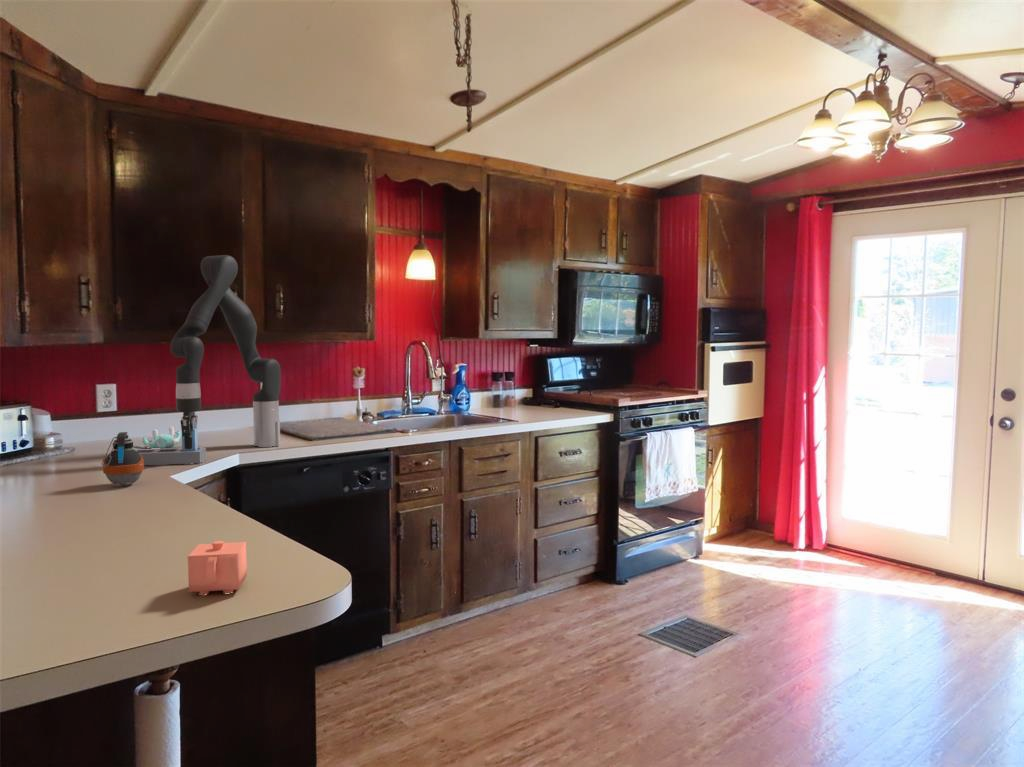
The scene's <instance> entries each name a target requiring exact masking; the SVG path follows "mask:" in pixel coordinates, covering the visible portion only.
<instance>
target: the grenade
mask: <svg viewBox="0 0 1024 767" xmlns="http://www.w3.org/2000/svg"><path fill="white" fill-rule="evenodd" d="M111 446H112V449H111V450H110V448H111ZM109 450H110V452H109ZM108 452H109V453H108ZM101 466H102V469H103V475H104V474H105V476H106V478H107V480H109V482H110V483H112V484H113V485H116V486H120V487H123V486H124V487H126V486H129V485H130V486H131V485H132V484H134V483H136V482H137V481H138V480H139V479H140V477H141V476H142V473H143V471H144V470H145V466H144V460H143V457H142V455H141V454H139V453H138V452H137V451H135V449H134V442H133V440H132V439H130V438H129V435H128V432H127V431H123V432H119V433H117V435H116V436H114V437H112V439H111V442H110V444H109V446H108V448H107V451H106V453H105V454H104V457H103V459H102V461H101Z"/></svg>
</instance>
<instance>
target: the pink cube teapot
mask: <svg viewBox="0 0 1024 767" xmlns="http://www.w3.org/2000/svg"><path fill="white" fill-rule="evenodd" d="M247 564H248V563H247V542H246V541H239V542H224V540H216V541H213V542H211V543H199V544H197V546H196V547H195V548H194V549H193V550H192V551H191V552H190V553H189V555H188V556H187V568H188V569H187V572H188V575H187V576H188V577H187V578H188V592H189V593H197V592H198V594H199V595H205V594H208V593H209V594H210V592H216V591H217V592H218V591H222V592H223V594H224V593H231V592H233V591H235V590H240V589H241V587H242V585H243V583H244V581H245V580H246V579H247V574H248V569H247ZM209 594H208V595H209Z"/></svg>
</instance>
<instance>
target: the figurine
mask: <svg viewBox="0 0 1024 767" xmlns="http://www.w3.org/2000/svg"><path fill="white" fill-rule="evenodd" d="M168 432H169V434H165V433H164V434H162V433H161V434H159V431H158V430H157V429H156V428H153V429H152V432H151V433H152V436H153V439H152V441H149V440H148V436H147V435H144V436H143V437H142V444H143V445H144V446H145V447H146V448H147V447H149V448H148V449H150V448H168V447H170V448H173V446H175V445H178V444H179V442H180V441H181V439H182V431H180V430H177V431H175V428H174V426H170V427H169V428H168ZM175 433H176V436H175Z"/></svg>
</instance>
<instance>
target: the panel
mask: <svg viewBox="0 0 1024 767" xmlns="http://www.w3.org/2000/svg"><path fill="white" fill-rule="evenodd" d="M134 450H135V451H137V452H138V453H139V454H141V455H142V457H143V460H144V465H156V466H167V465H166V464H184V465H188V464H187V463H198V464H197V465H201V464H202V463H203V462H204V461H205V460H206V459H207V447H206V446H201V447H200V446H198V450H197V451H182V447H170V448H160V449H150V448H136V449H134ZM201 462H202V463H201ZM200 463H201V464H200Z"/></svg>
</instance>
